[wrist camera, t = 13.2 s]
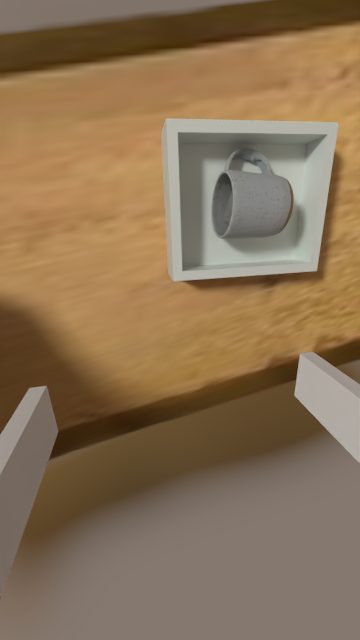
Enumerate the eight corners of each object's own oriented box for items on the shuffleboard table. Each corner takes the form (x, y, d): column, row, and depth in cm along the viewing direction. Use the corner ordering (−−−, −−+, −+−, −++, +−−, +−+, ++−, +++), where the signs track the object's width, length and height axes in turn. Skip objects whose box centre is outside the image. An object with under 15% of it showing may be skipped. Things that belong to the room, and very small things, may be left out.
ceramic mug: (264, 236, 38) (295, 237, 30) (209, 238, 36) (229, 239, 29) (271, 151, 34) (308, 130, 27) (211, 150, 33) (233, 127, 26)
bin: (168, 274, 38) (173, 281, 34) (161, 133, 32) (166, 118, 28) (296, 265, 41) (316, 270, 37) (311, 135, 35) (338, 122, 31)
